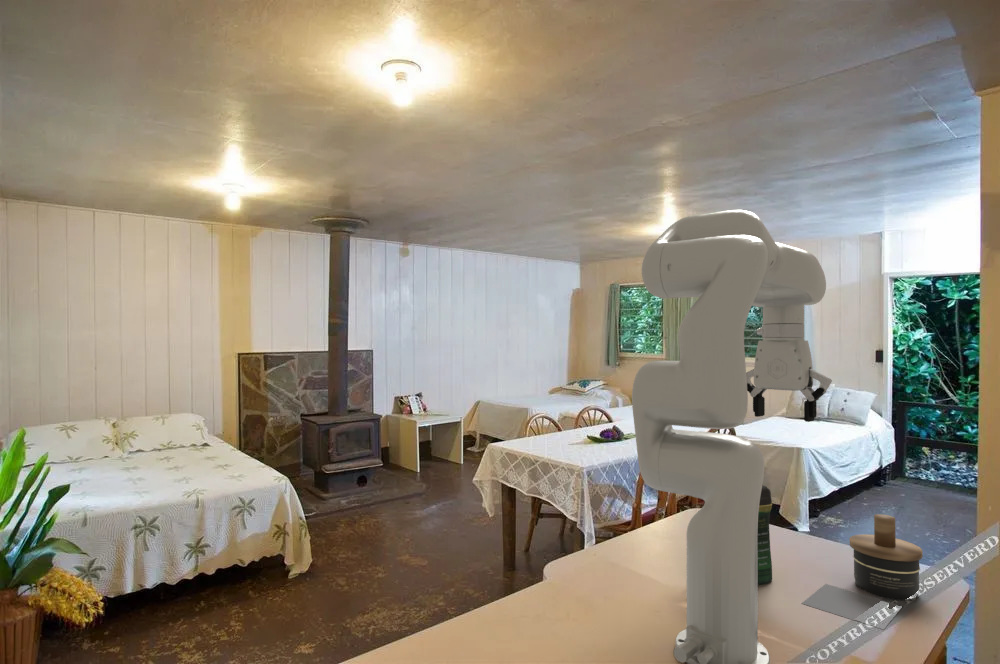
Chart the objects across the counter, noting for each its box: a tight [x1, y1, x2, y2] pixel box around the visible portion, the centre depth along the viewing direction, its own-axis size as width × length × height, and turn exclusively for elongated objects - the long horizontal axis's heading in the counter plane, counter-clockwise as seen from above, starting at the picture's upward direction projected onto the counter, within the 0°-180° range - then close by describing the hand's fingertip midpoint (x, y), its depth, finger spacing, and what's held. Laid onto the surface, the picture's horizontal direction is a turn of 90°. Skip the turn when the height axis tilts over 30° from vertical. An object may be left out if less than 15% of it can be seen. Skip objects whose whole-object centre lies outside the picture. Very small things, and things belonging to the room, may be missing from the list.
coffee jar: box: [757, 484, 773, 586], centre depth 109 cm, size 10×8×19 cm
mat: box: [801, 583, 897, 631], centre depth 96 cm, size 12×12×1 cm
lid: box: [849, 513, 924, 561], centre depth 103 cm, size 11×11×6 cm
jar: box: [852, 549, 921, 601], centre depth 103 cm, size 10×10×8 cm
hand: (783, 418), depth 114 cm, fingers open, 9 cm apart
